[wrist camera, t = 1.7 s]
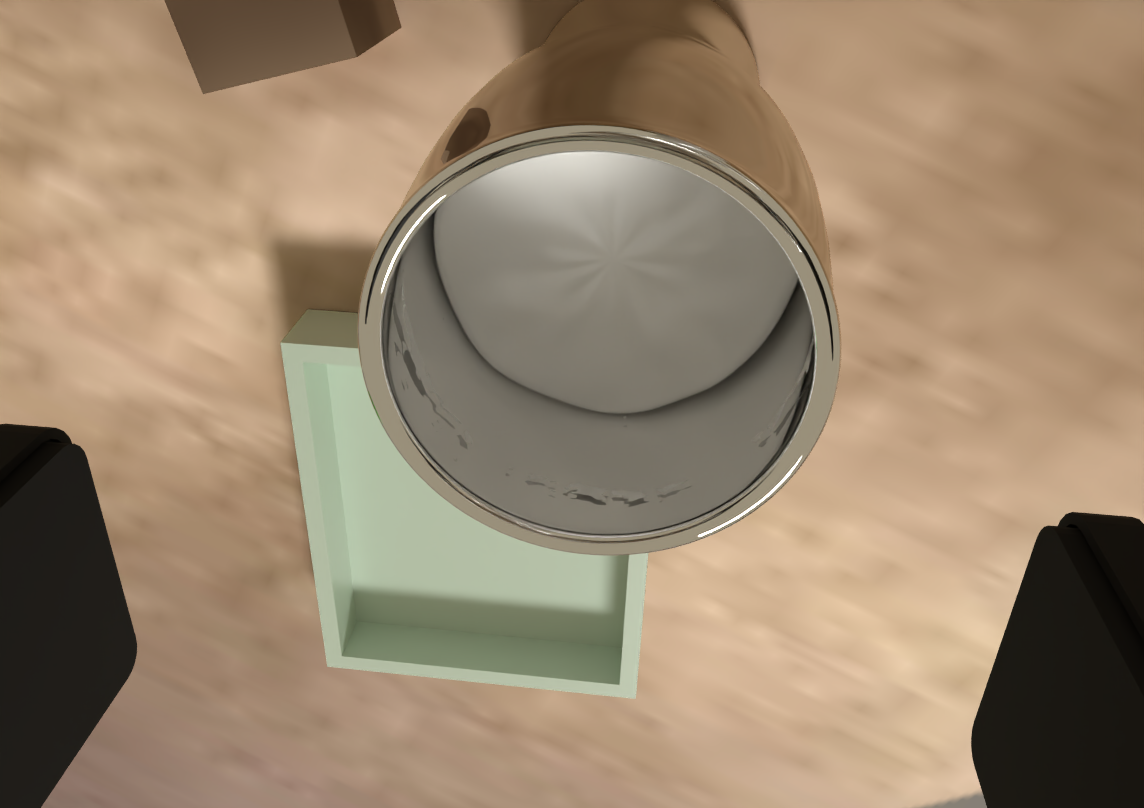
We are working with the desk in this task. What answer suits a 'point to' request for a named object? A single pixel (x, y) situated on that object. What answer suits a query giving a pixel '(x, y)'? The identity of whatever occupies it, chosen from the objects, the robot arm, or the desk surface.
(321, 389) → the tray
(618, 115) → the beer glass
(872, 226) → the desk surface
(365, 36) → the walnut block
